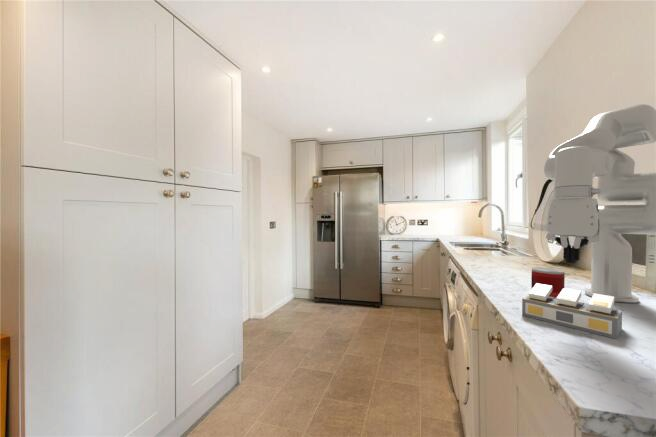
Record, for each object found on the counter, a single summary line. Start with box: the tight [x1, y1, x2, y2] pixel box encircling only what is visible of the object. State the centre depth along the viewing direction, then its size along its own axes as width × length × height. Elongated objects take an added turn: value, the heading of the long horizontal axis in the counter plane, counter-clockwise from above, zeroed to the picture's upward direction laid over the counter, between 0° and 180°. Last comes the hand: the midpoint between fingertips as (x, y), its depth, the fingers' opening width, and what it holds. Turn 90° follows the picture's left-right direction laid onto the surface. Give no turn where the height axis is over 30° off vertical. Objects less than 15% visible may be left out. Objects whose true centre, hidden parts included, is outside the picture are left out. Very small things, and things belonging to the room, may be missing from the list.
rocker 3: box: [588, 293, 616, 314], centre depth 65 cm, size 7×4×2 cm, turn 127°
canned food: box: [530, 266, 566, 298], centre depth 84 cm, size 8×8×11 cm
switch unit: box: [521, 295, 623, 340], centre depth 70 cm, size 9×18×5 cm, turn 37°
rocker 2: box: [557, 287, 582, 307], centre depth 70 cm, size 7×4×2 cm, turn 127°
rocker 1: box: [528, 283, 552, 301], centre depth 74 cm, size 7×4×2 cm, turn 127°
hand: (571, 262), depth 71 cm, fingers closed
